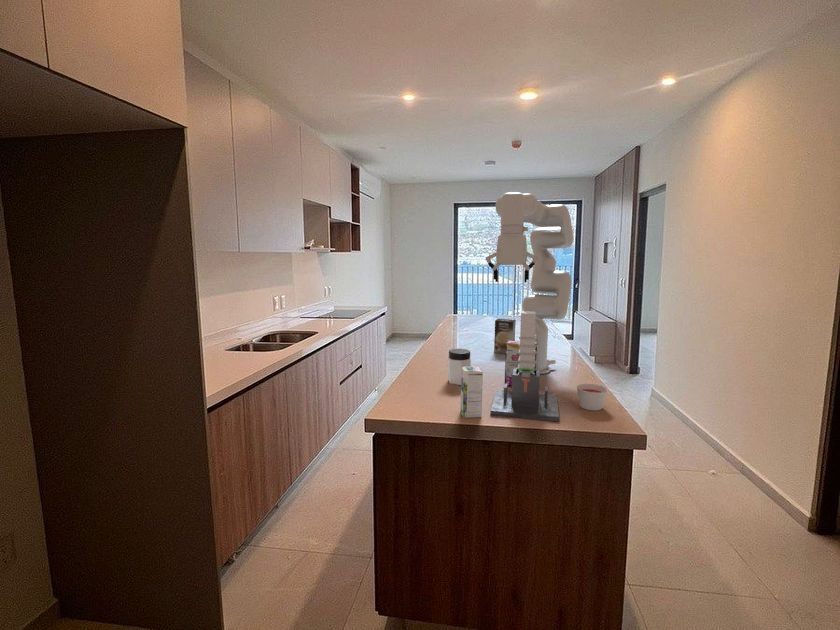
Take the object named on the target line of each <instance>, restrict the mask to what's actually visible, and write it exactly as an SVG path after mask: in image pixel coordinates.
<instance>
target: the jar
mask: <svg viewBox="0 0 840 630" xmlns="http://www.w3.org/2000/svg"><path fill="white" fill-rule="evenodd" d="M447 358H448V359H447V360H448V362H447V363H448V365H447V366H448V369H447V371H448V372H447V373H448V376H447V377H448V379H447V380H448V382H449V384H450V385H457V386H461V375H462V367H466V366H471V365H472V364H471V363H472V362H471V350H469V349H466V348H452V349H450V350H448V357H447Z"/></svg>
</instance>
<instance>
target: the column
mask: <svg viewBox="0 0 840 630" xmlns="http://www.w3.org/2000/svg"><path fill="white" fill-rule="evenodd" d="M535 321H536V312H526V311H523V310H522V311H521V312H520V330H519V332H520V333H519V335H518V336H519V337H518V339H519V341H520V342H519V347H520V349H519V355H520V356H519V360H518V363H519V366H518V371H519V372H518V374H520V375H522V371H530V375H534V372H535V365H534V364H535V358H534V356H535V350H534V348H535V347H536V342H535V340H536V335H535Z"/></svg>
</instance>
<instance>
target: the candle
mask: <svg viewBox="0 0 840 630" xmlns="http://www.w3.org/2000/svg"><path fill="white" fill-rule="evenodd" d="M576 391H577V397H578V405H579V407H580V408H581V409H584V410H587V411H601V410H602V409H603V407H604V405H605V404H604V403H605V400H606V397H607V392H608V389H607V387H605V386H603V385H599V384H595V383H580V384H578V385H576Z"/></svg>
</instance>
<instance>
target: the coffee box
mask: <svg viewBox="0 0 840 630" xmlns="http://www.w3.org/2000/svg"><path fill="white" fill-rule="evenodd" d="M516 322H517V321H516V319H506V318H496V319H495V320H494V337H493V338H494V339H493V341H494V344H493V353H494V354H503V355H506V343H507V341H516Z"/></svg>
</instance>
